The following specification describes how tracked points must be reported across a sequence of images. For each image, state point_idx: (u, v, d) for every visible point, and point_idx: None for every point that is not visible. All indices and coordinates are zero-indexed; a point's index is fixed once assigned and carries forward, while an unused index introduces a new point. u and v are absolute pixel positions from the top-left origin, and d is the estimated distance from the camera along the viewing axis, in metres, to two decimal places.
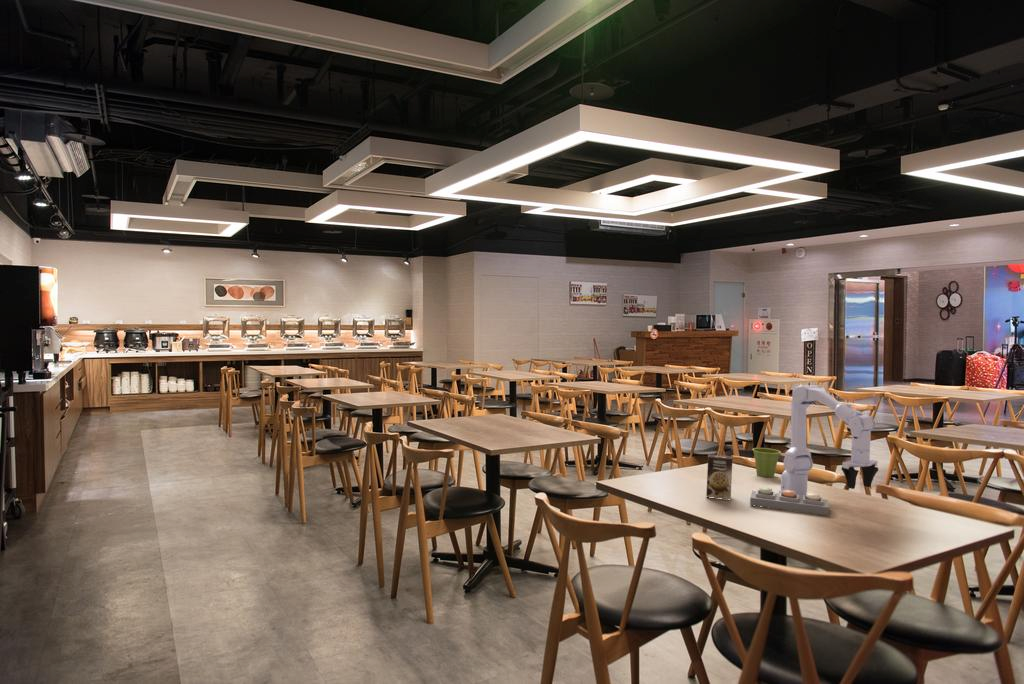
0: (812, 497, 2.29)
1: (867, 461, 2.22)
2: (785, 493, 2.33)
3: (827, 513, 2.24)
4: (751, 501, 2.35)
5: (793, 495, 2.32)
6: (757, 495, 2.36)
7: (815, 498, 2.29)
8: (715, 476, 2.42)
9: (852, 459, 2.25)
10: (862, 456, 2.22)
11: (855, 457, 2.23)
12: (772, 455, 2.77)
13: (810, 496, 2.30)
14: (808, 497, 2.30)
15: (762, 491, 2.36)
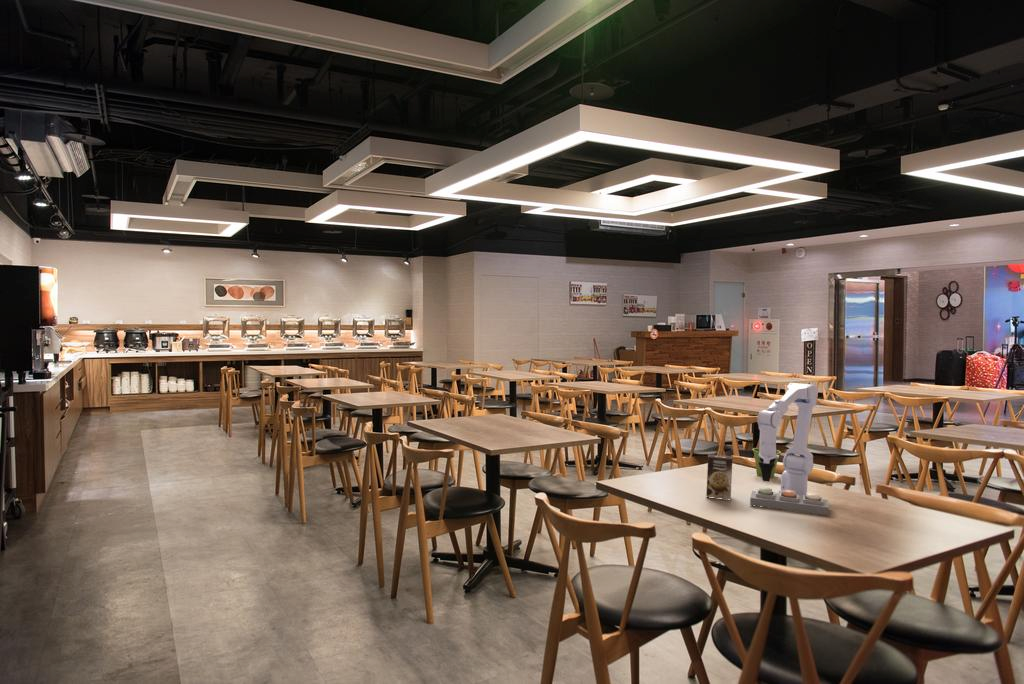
0: (812, 497, 2.29)
1: (775, 453, 2.36)
2: (785, 493, 2.33)
3: (827, 513, 2.24)
4: (751, 501, 2.35)
5: (793, 495, 2.32)
6: (757, 495, 2.36)
7: (815, 498, 2.29)
8: (715, 476, 2.42)
9: (764, 453, 2.35)
10: (774, 449, 2.34)
11: (768, 451, 2.34)
12: None
13: (810, 496, 2.30)
14: (808, 497, 2.30)
15: (762, 491, 2.36)
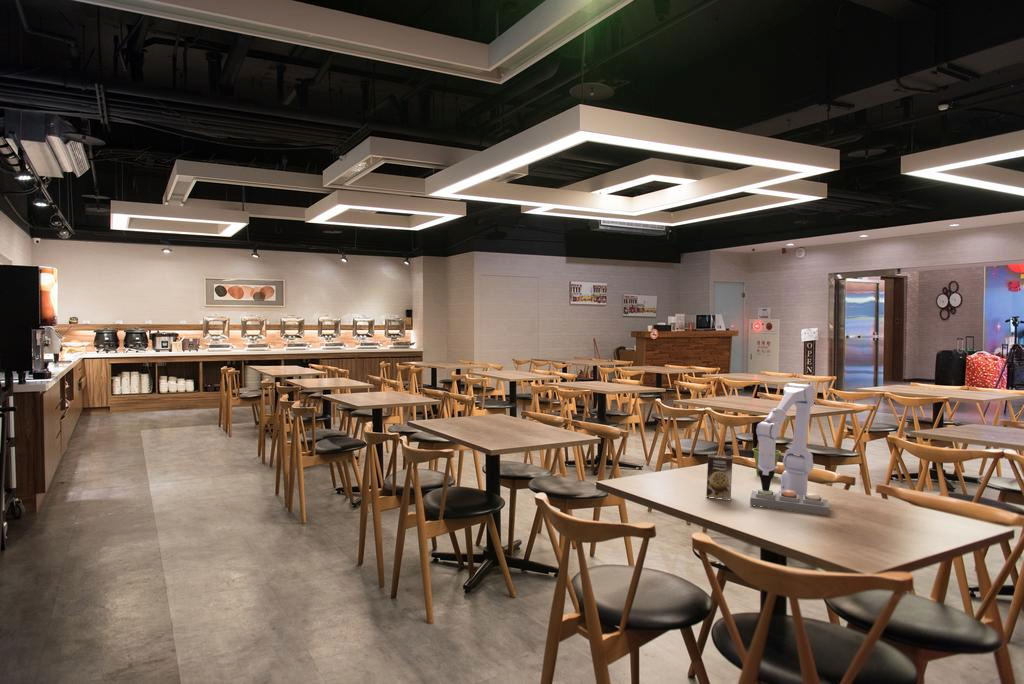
0: (812, 497, 2.29)
1: (774, 465, 2.36)
2: (785, 493, 2.33)
3: (827, 513, 2.24)
4: (751, 501, 2.35)
5: (793, 495, 2.32)
6: (757, 495, 2.36)
7: (815, 498, 2.29)
8: (715, 476, 2.42)
9: (763, 465, 2.35)
10: (773, 461, 2.35)
11: (768, 463, 2.34)
12: None
13: (810, 496, 2.30)
14: (808, 497, 2.30)
15: (762, 492, 2.36)
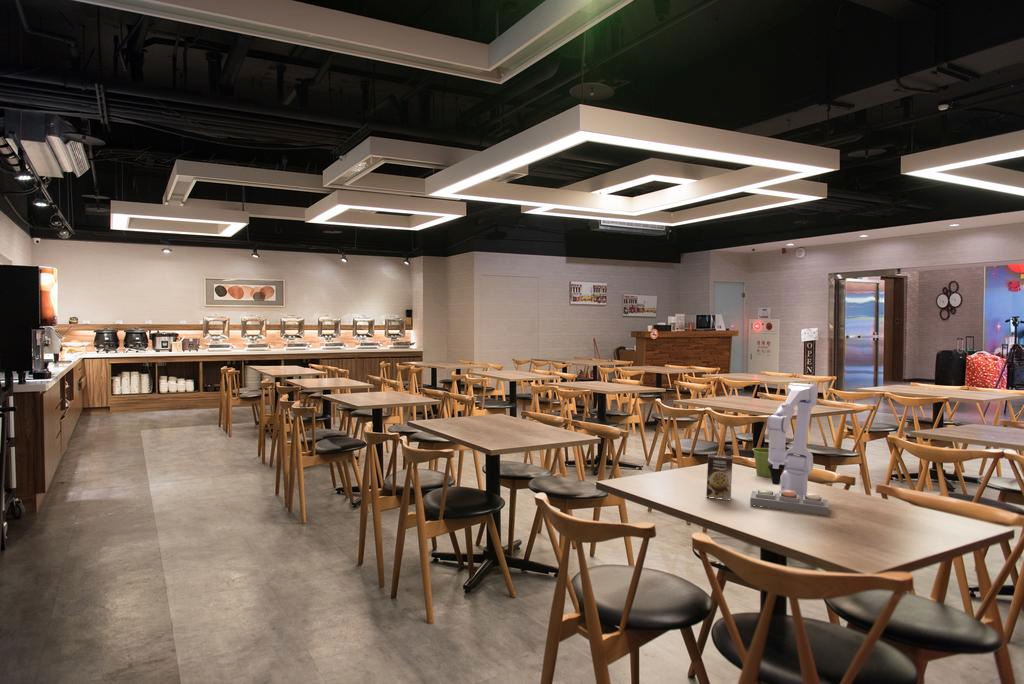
0: (812, 497, 2.29)
1: (784, 458, 2.35)
2: (785, 493, 2.33)
3: (827, 513, 2.24)
4: (751, 501, 2.35)
5: (793, 495, 2.32)
6: (757, 495, 2.36)
7: (815, 498, 2.29)
8: (715, 476, 2.42)
9: (773, 458, 2.34)
10: (783, 454, 2.33)
11: (778, 456, 2.33)
12: None
13: (810, 496, 2.30)
14: (808, 497, 2.30)
15: (762, 493, 2.36)
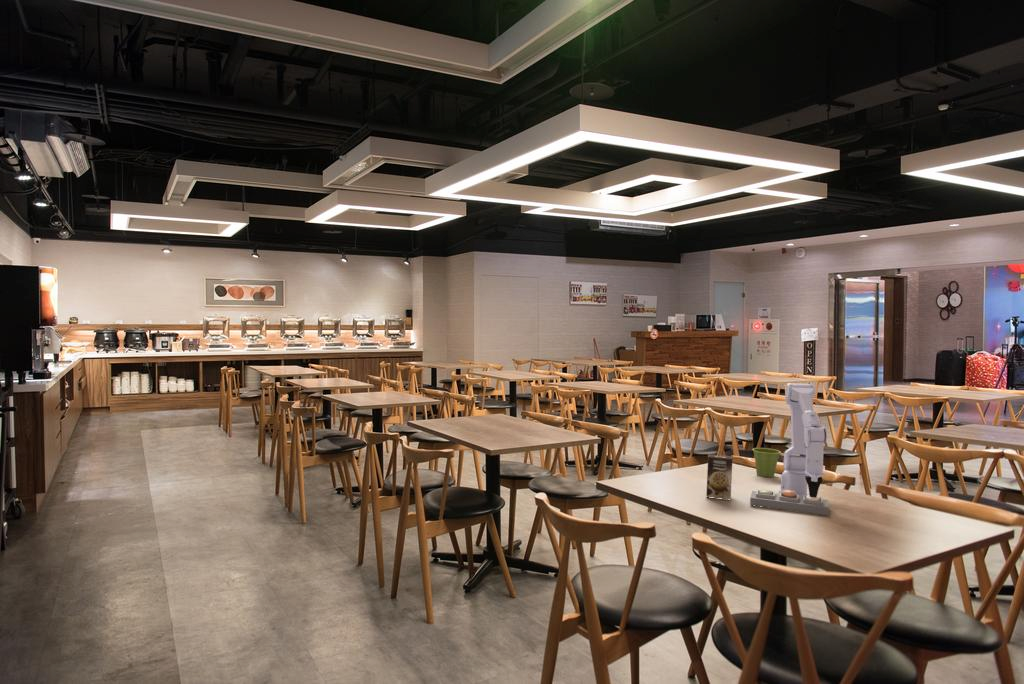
0: None
1: (822, 471, 2.30)
2: (785, 493, 2.33)
3: (827, 513, 2.24)
4: (751, 501, 2.35)
5: (793, 495, 2.32)
6: (757, 495, 2.36)
7: None
8: (715, 476, 2.42)
9: (811, 471, 2.29)
10: (821, 467, 2.28)
11: (816, 468, 2.28)
12: (772, 455, 2.77)
13: (810, 499, 2.30)
14: None
15: (762, 493, 2.36)
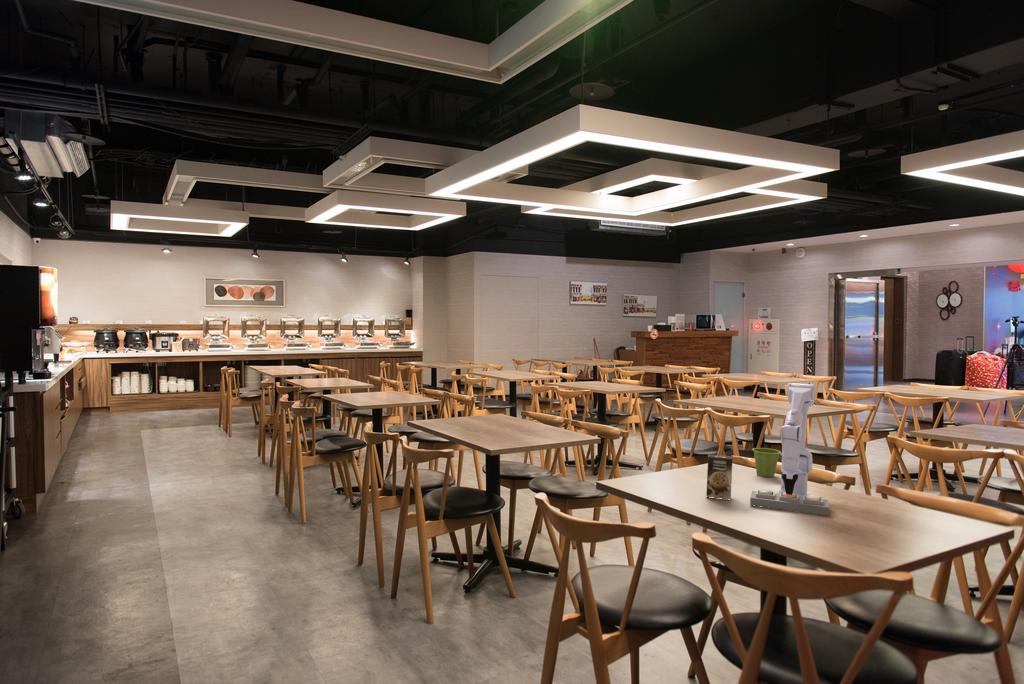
0: None
1: (798, 468, 2.33)
2: (785, 495, 2.33)
3: (827, 513, 2.24)
4: (751, 501, 2.35)
5: (793, 497, 2.32)
6: (757, 495, 2.36)
7: None
8: (715, 476, 2.42)
9: (787, 468, 2.32)
10: (796, 464, 2.31)
11: (791, 466, 2.31)
12: (772, 455, 2.77)
13: (810, 499, 2.30)
14: None
15: (762, 493, 2.36)
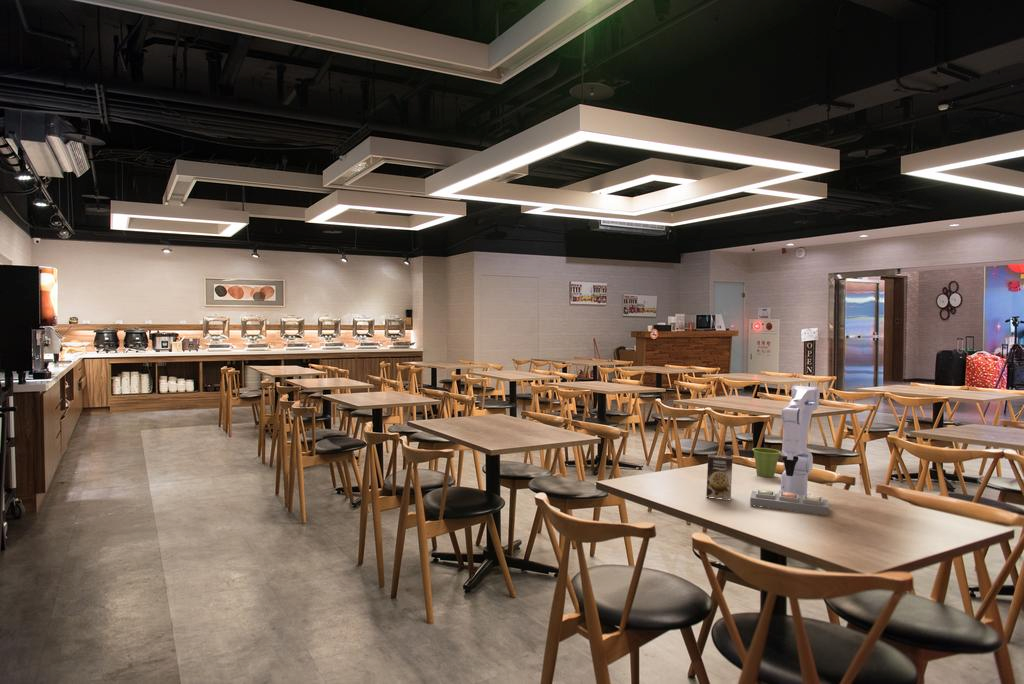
0: None
1: (798, 450, 2.38)
2: (785, 495, 2.33)
3: (827, 513, 2.24)
4: (751, 501, 2.35)
5: (793, 497, 2.32)
6: (757, 495, 2.36)
7: None
8: (715, 476, 2.42)
9: (787, 450, 2.37)
10: (797, 446, 2.36)
11: (792, 448, 2.36)
12: (772, 455, 2.77)
13: (810, 499, 2.30)
14: None
15: (762, 493, 2.36)
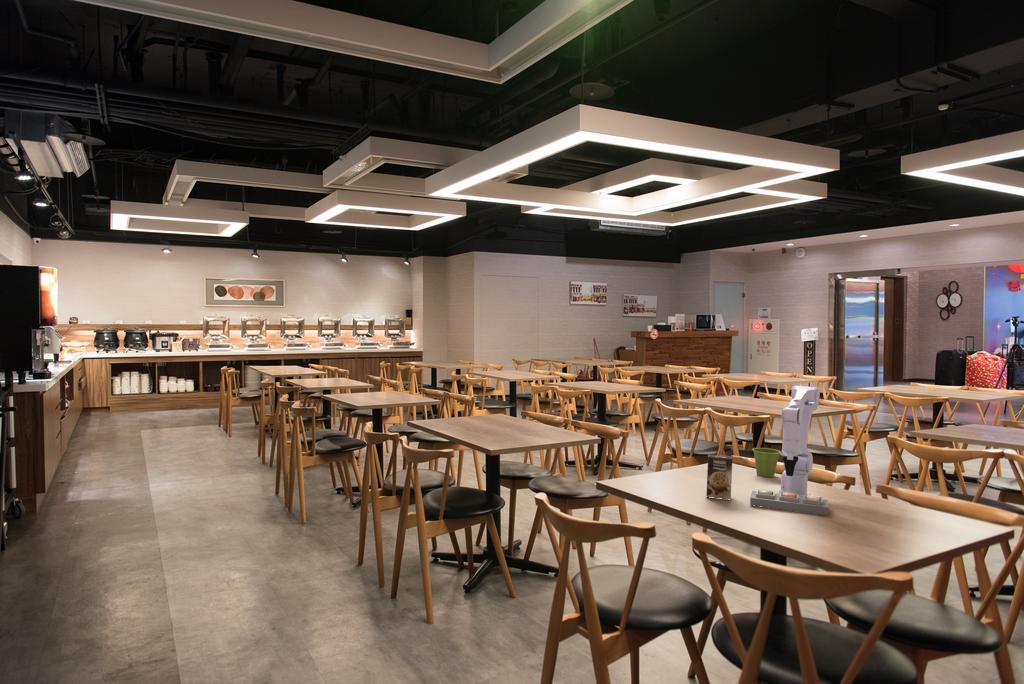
0: None
1: (798, 450, 2.38)
2: (785, 495, 2.33)
3: (827, 513, 2.24)
4: (751, 501, 2.35)
5: (793, 497, 2.32)
6: (757, 495, 2.36)
7: None
8: (715, 476, 2.42)
9: (787, 450, 2.37)
10: (797, 446, 2.36)
11: (792, 448, 2.36)
12: (772, 455, 2.77)
13: (810, 499, 2.30)
14: None
15: (762, 493, 2.36)
